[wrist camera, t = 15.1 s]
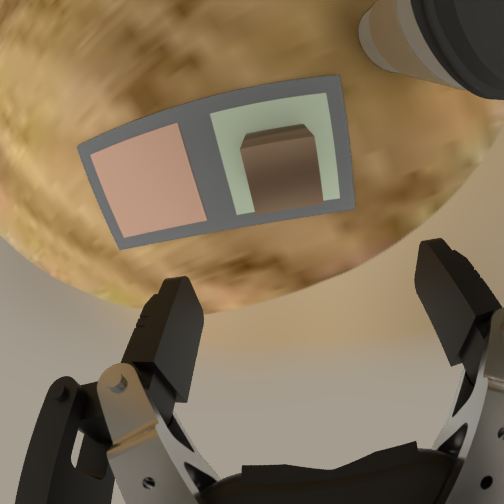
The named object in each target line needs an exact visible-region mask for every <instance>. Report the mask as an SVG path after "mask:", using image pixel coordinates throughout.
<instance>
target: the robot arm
mask: <svg viewBox="0 0 504 504" xmlns="http://www.w3.org/2000/svg"><path fill="white" fill-rule="evenodd" d="M414 280H415V288H416V292H417V294H418V296H419V298H420V300H421V302H422V304H423V306H424V308H425V310H426V312H427V314H428V316H429V318H430V320H431V322H432V324H433V327H434V329H435V330H436V333H437V335H438V337H439V339H440V342H441V344H442V346H443V348H444V351H445V353H446V356H447V358H448V361H449V363H450V365H451V366H454V365H457V364H460V363H463V365H464V370H463V372H462V374H461V378H460V382H459V385H458V388H457V392H456V395H455V398H454V401H453V404H452V407H451V410H450V413H449V416H448V418H447V421H446V423H445V425H444V427H443V428H442V430H441V431H440V433H439V435H438V436H437V438H436V440H435V442H434V444H433V446H432V449H421V448H420V449H418V448H417V443H416V441H414V442H411V443H407V444H404V445H400V446H396V447H393V448H389V449H385V450H381V451H377V452H374V453H372V454H370V455H367V456H366V457H363V458H361V459H359V460H356V461H354V462H352V463H350V464H347V465H344V466H342V467H339V468H337V469H333V470H324V469H314V468H306V467H299V466H292V465H286V464H283V465H243V466H242V473H239V474H235V475H232V476H229V477H226V478H224V479H222V480H221V479H220V478H219V476H218V475H217V474H216V472H215V471H214V470H213V468H212V467H211V466H210V465H209V464H208V463H207V462H206V461H205V459H204V458H203V457H202V456H201V455H200V453H199V452H198V450H197V449H196V447H195V446H194V444H193V442H192V441H191V439H190V437H189V436H188V434H187V433H186V431H185V429H184V428H183V426H182V424H181V422H180V421H179V419H178V417H177V416H176V414H175V412H174V411H173V409H174V404H175V402H181V403H187V400H188V395H189V390H190V385H191V381H192V376H193V371H194V366H195V361H196V357H197V352H198V347H199V342H200V338H201V333H202V329H203V324H204V315H203V310H202V307H201V305H200V303H199V300H198V298H197V296H196V294H195V291H194V289H193V287H192V284H191V282H190V280H189V278H188V277H187V276H182V277H174V278H167V279H165V280H164V281H163V283H162V286H161V288H160V290H159V293H158V294H154V295H153V296H152V297H151V298H150V300H149V301H148V302H147V303H146V304H145V305H144V308H143V310H142V313H141V315H140V319H138V322H137V324H136V328H135V329H134V331H133V334H132V336H131V338H130V341H129V343H128V346H127V348H126V351H125V353H124V356H123V358H122V361H121V363H118V364H115V365H112V366H111V367H109V368H108V369H106V370H105V371H104V372H103V373H102V375H101V376H100V379H99V381H97V382H94V383H89V384H85V385H79V384H78V383H77V382H76V381H75V380H74V379H73V378H72V377H69V376H65V377H61V378H59V379H57V380H56V381H55V382H54V383H53V384H52V385H51V386H50V388H49V390H48V393H47V395H46V397H45V400H44V403H43V406H42V408H41V411H40V414H39V417H38V419H37V422H36V425H35V428H34V431H33V434H32V437H31V440H30V444H29V447H28V450H27V454H26V457H25V461H24V465H23V469H22V473H21V477H20V481H19V486H18V491H17V495H16V501H15V504H111V499H112V493H113V486H114V481H115V479H116V482H117V484H118V486H119V489H120V491H121V493H122V496H123V498H124V500H125V502H126V504H504V308H502V306H501V305H500V303H499V302H498V300H497V299H496V297H495V296H494V294H493V293H492V291H491V290H490V289H489V287H488V286H487V284H486V283H485V282H484V280H483V279H482V278H480V275H479V274H478V272H477V271H476V270H474V267H473V266H472V264H471V263H470V262H469V261H468V259H467V258H466V257H464V256H463V255H461V254H460V253H458V252H457V251H455V250H453V251H452V250H451V248H450V247H449V246H448V245H447V243H446V242H445V241H444V240H443V239H442V238H437V239H431V240H426V241H422V242H421V243H420V245H419V252H418V259H417V265H416V271H415V279H414ZM78 430H79V431H80V432H82V433H84V438H83V441H82V446H81V449H80V454H79V457H78V461H77V466H76V468H74V466H73V465H72V463H71V454H72V450H73V446H74V442H75V438H76V435H77V431H78Z"/></svg>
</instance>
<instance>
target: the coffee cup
mask: <svg viewBox="0 0 504 504" xmlns="http://www.w3.org/2000/svg"><path fill="white" fill-rule="evenodd" d="M358 35H359V40H360V44H361V46H362V48H363V50H364V52H365V53H366V55H367V56H368V57H369V58H370V59H371V61H373V62H374V63H375V64H376V65H377V66H379V67H381V68H382V69H384V70H387V71H390V72H395V73H401V74H404V75H407V76H409V77H413V78H417V79H422V80H426V81H430V82H434V83H438V84H442V85H446V86H449V87H453V88H456V89H460V90H468V91H469V92H471V93H473V94H475V95H477V96H479V97H482V98H486V99H497V100H504V0H377V1H376V2H375V3H374V5H373V7H372V8H370V9H369V10H368V11H367V12H366V13H365V14H364V15H363V17H362V18H361V20H360V23H359V27H358Z"/></svg>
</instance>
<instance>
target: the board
mask: <svg viewBox="0 0 504 504" xmlns="http://www.w3.org/2000/svg"><path fill="white" fill-rule="evenodd" d="M298 124H304V125H305V126H306V127H307V128H308V129H309V131H310V132H311V133H312V134H313V135H314V136H315V143H316V149H317V156H318V163H319V170H320V177H321V185H322V193H323V201H324V204H319V205H313V206H306V207H300V208H294V209H288V210H282V211H276V212H270V213H264V214H258V215H256V214H255V210H254V206H253V202H252V198H251V193H250V189H249V185H248V181H247V177H246V173H245V169H244V165H243V160H242V156H241V152H240V147H241V145H242V142H243V140H244V137H245V135H246V134H247V133H252V132H257V131H263V130H268V129H274V128H279V127H285V126H292V125H298ZM77 149H78V152H79V155H80V158H81V161H82V163H83V166H84V169H85V171H86V174H87V177H88V179H89V182H90V184H91V187H92V189H93V192H94V194H95V197H96V199H97V201H98V204H99V206H100V208H101V211H102V213H103V215H104V218H105V220H106V222H107V224H108V226H109V229H110V231H111V233H112V235H113V237H114V239H115V241H116V244H117V246H118V248H119V250H123V249H128V248H133V247H138V246H143V245H148V244H153V243H158V242H164V241H169V240H174V239H179V238H185V237H190V236H196V235H201V234H206V233H212V232H218V231H223V230H229V229H235V228H240V227H246V226H252V225H258V224H264V223H270V222H276V221H282V220H288V219H295V218H301V217H307V216H314V215H320V214H327V213H334V212H340V211H347V210H354V209H355V197H354V183H353V170H352V160H351V150H350V141H349V133H348V125H347V118H346V111H345V104H344V98H343V92H342V86H341V80H340V75H333V76H322V77H313V78H304V79H296V80H289V81H283V82H276V83H270V84H265V85H259V86H254V87H249V88H244V89H240V90H235V91H231V92H227V93H222V94H218V95H214V96H211V97H207V98H203V99H199V100H196V101H192V102H189V103H186V104H182V105H179V106H176V107H173V108H170V109H167V110H163V111H161V112H158V113H155V114H152V115H149V116H146V117H144V118H141V119H138V120H136V121H133V122H130V123H128V124H125V125H123V126H120V127H118V128H116V129H113V130H111V131H108V132H106V133H104V134H102V135H99V136H97V137H95V138H93V139H91V140H88V141H86V142H84V143H82V144H80V145H78V146H77Z"/></svg>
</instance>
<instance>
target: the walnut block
mask: <svg viewBox="0 0 504 504" xmlns="http://www.w3.org/2000/svg"><path fill="white" fill-rule="evenodd" d="M240 152H241V156H242V160H243V165H244V169H245V173H246V177H247V181H248V185H249V189H250V193H251V198H252V202H253V206H254V210H255V214H256V215H258V214H264V213H270V212H276V211H282V210H288V209H294V208H300V207H306V206H313V205H319V204H324V201H323V193H322V185H321V177H320V170H319V163H318V156H317V149H316V143H315V136H314V135H313V134H312V133H311V132H310V131H309V129H308V128H307V127H306V126H305V125H304V124H298V125H292V126H285V127H279V128H274V129H268V130H263V131H257V132H252V133H247V134H246V135H245V137H244V140H243V142H242V145H241V147H240Z"/></svg>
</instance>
